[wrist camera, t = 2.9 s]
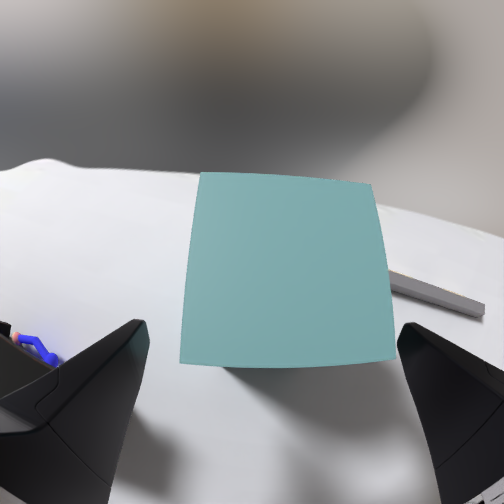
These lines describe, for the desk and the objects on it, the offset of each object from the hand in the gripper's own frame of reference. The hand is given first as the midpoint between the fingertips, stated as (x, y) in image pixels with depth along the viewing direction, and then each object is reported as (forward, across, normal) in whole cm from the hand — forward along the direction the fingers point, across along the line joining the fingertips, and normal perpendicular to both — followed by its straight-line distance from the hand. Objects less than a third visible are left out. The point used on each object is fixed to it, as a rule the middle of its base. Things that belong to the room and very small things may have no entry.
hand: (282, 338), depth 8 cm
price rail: (+10, -12, +4) cm, 16 cm away
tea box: (+8, 0, +6) cm, 10 cm away
